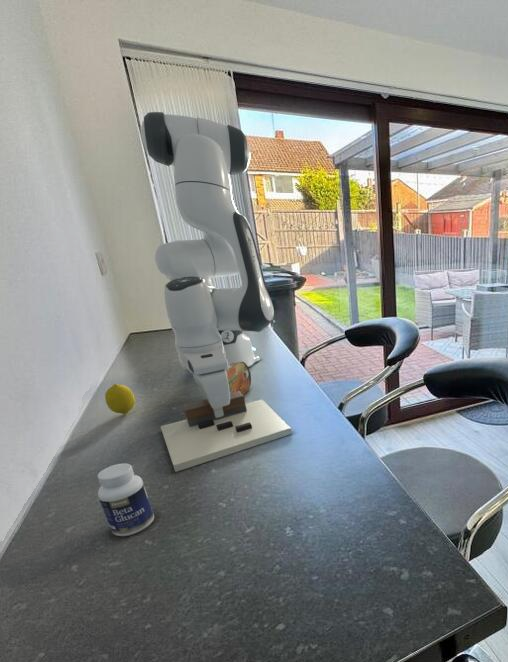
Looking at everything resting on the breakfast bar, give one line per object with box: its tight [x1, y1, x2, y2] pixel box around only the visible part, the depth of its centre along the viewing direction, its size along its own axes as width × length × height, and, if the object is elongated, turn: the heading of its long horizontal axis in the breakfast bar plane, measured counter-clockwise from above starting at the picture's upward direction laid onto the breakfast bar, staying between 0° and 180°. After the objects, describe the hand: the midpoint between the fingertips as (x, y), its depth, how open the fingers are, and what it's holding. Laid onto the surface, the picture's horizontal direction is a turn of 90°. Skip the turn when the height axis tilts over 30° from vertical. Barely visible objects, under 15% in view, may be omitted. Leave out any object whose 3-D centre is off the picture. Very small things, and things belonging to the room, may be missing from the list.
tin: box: [225, 362, 252, 396], centre depth 104 cm, size 15×3×8 cm, turn 179°
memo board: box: [160, 398, 292, 473], centre depth 87 cm, size 20×22×2 cm
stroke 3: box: [235, 422, 252, 432], centre depth 85 cm, size 1×3×1 cm, turn 128°
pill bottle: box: [97, 462, 155, 537], centre depth 59 cm, size 5×5×10 cm
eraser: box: [181, 391, 247, 427], centre depth 91 cm, size 4×12×4 cm, turn 128°
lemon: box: [104, 383, 136, 415], centre depth 96 cm, size 6×6×8 cm
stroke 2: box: [216, 421, 233, 431], centre depth 86 cm, size 1×3×1 cm, turn 128°
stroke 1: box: [198, 420, 215, 429], centre depth 87 cm, size 1×3×1 cm, turn 128°
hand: (216, 412), depth 91 cm, fingers closed on eraser, 4 cm apart
